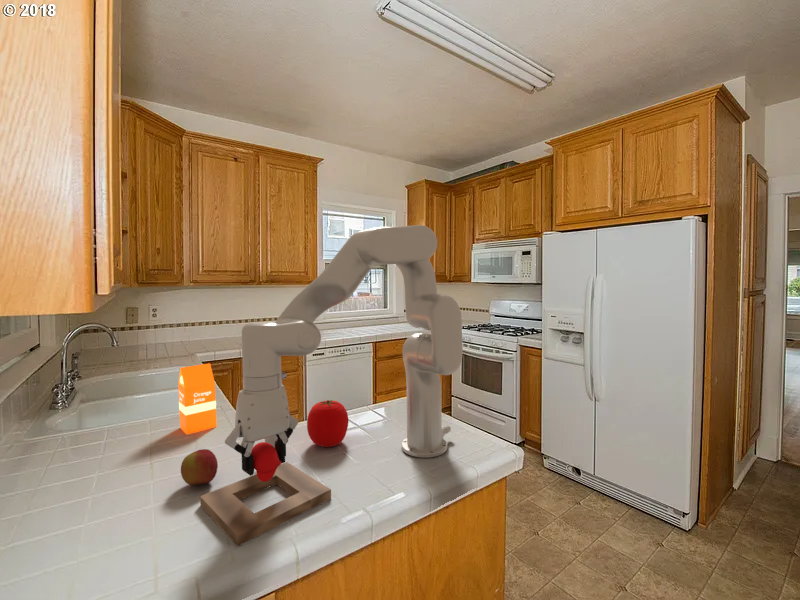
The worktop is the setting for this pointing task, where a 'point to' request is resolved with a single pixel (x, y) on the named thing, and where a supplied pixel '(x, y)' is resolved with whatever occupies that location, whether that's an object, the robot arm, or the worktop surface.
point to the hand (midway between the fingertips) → (264, 465)
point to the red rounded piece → (265, 460)
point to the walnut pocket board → (250, 525)
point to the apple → (199, 467)
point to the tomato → (327, 423)
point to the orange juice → (197, 398)
